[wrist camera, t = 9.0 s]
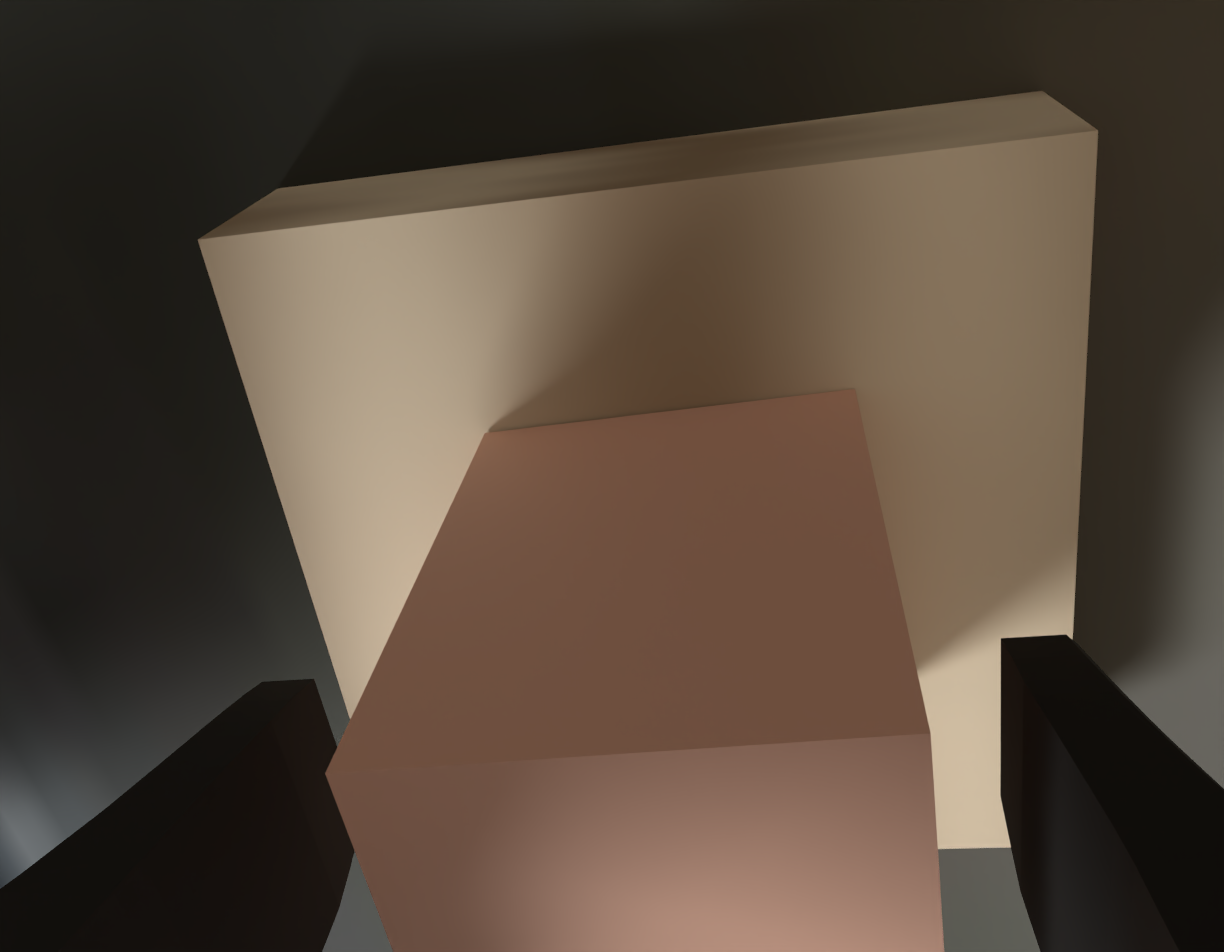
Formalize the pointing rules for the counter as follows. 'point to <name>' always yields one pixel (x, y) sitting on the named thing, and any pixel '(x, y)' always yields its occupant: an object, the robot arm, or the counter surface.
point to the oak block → (700, 355)
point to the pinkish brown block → (653, 700)
